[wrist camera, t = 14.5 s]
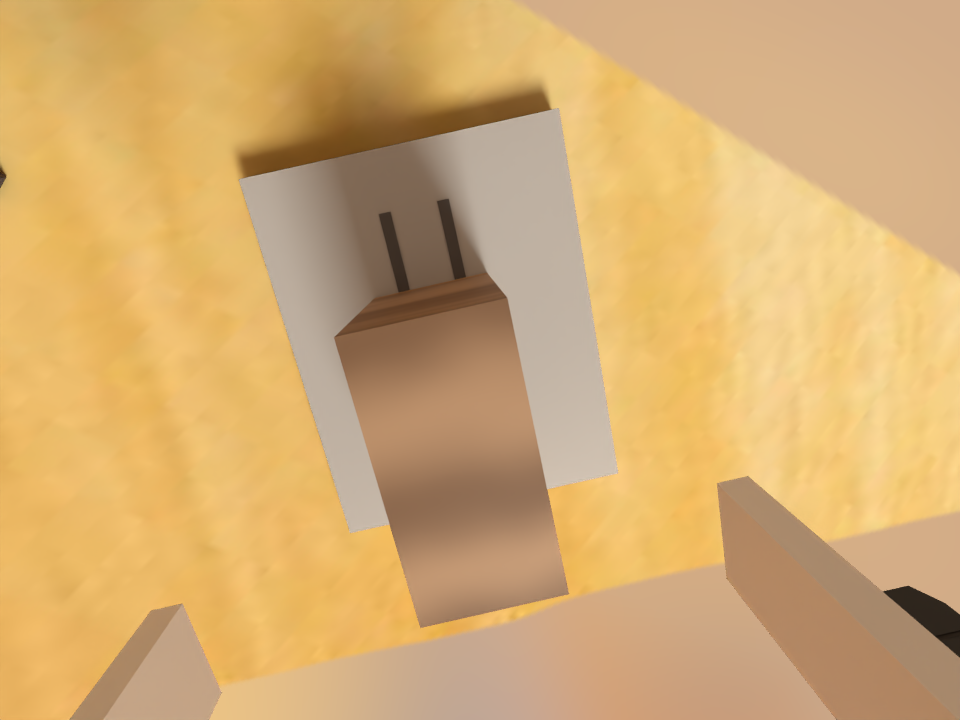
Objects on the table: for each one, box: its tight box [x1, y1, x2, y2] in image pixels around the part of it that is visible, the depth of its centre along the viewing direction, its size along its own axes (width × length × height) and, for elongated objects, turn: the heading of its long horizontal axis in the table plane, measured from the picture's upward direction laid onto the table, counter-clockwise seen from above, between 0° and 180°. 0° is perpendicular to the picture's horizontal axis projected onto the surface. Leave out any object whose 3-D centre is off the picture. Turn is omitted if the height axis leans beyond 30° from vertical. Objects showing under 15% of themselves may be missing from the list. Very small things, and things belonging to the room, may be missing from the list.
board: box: [239, 108, 618, 533], centre depth 29 cm, size 20×16×2 cm
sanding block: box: [334, 273, 569, 628], centre depth 24 cm, size 12×6×10 cm, turn 12°
